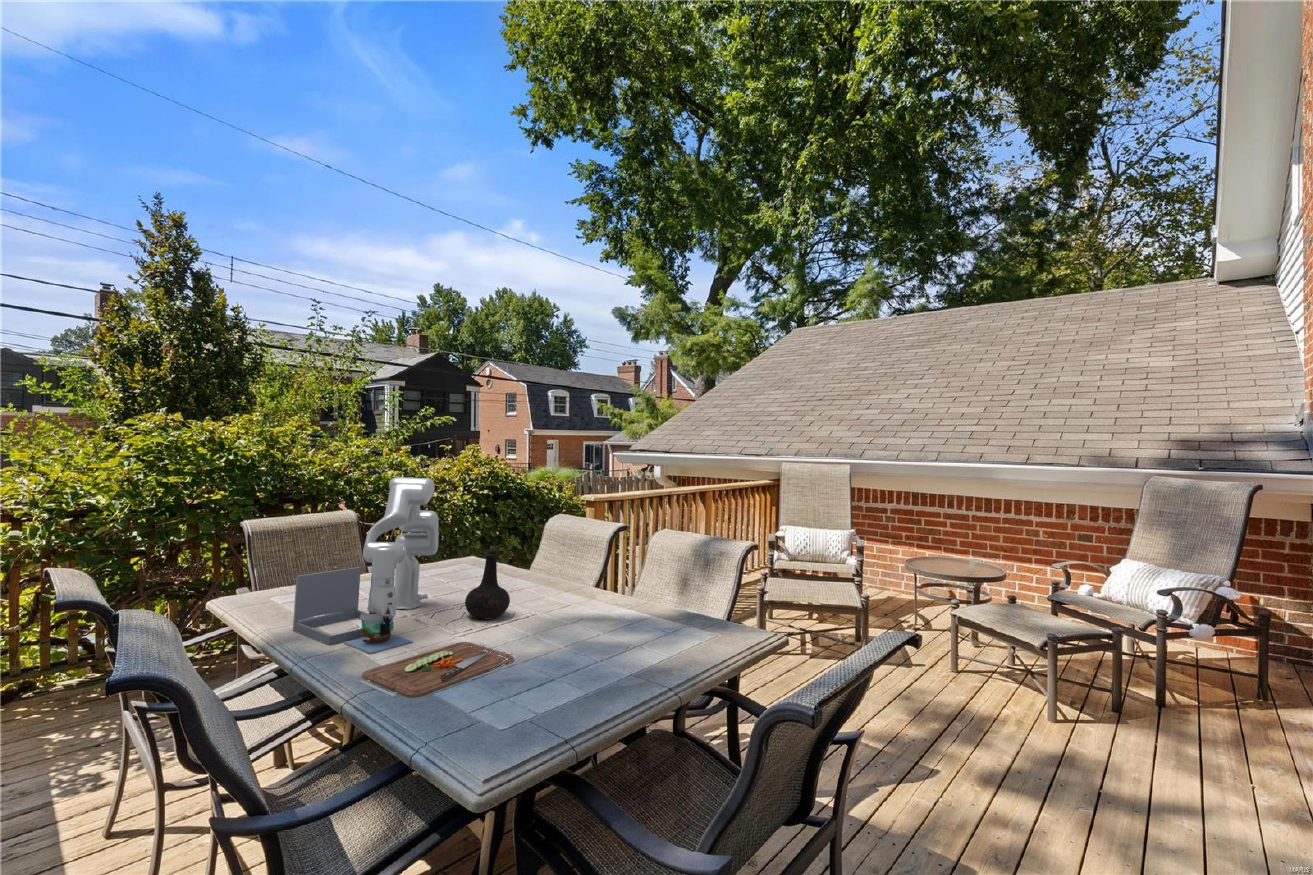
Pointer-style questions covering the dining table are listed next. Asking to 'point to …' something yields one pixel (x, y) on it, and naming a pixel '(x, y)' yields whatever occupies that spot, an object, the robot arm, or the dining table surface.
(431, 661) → the chopping board
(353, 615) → the case
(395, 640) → the mat
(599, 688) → the dining table surface
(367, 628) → the food container
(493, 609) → the glass bottle
